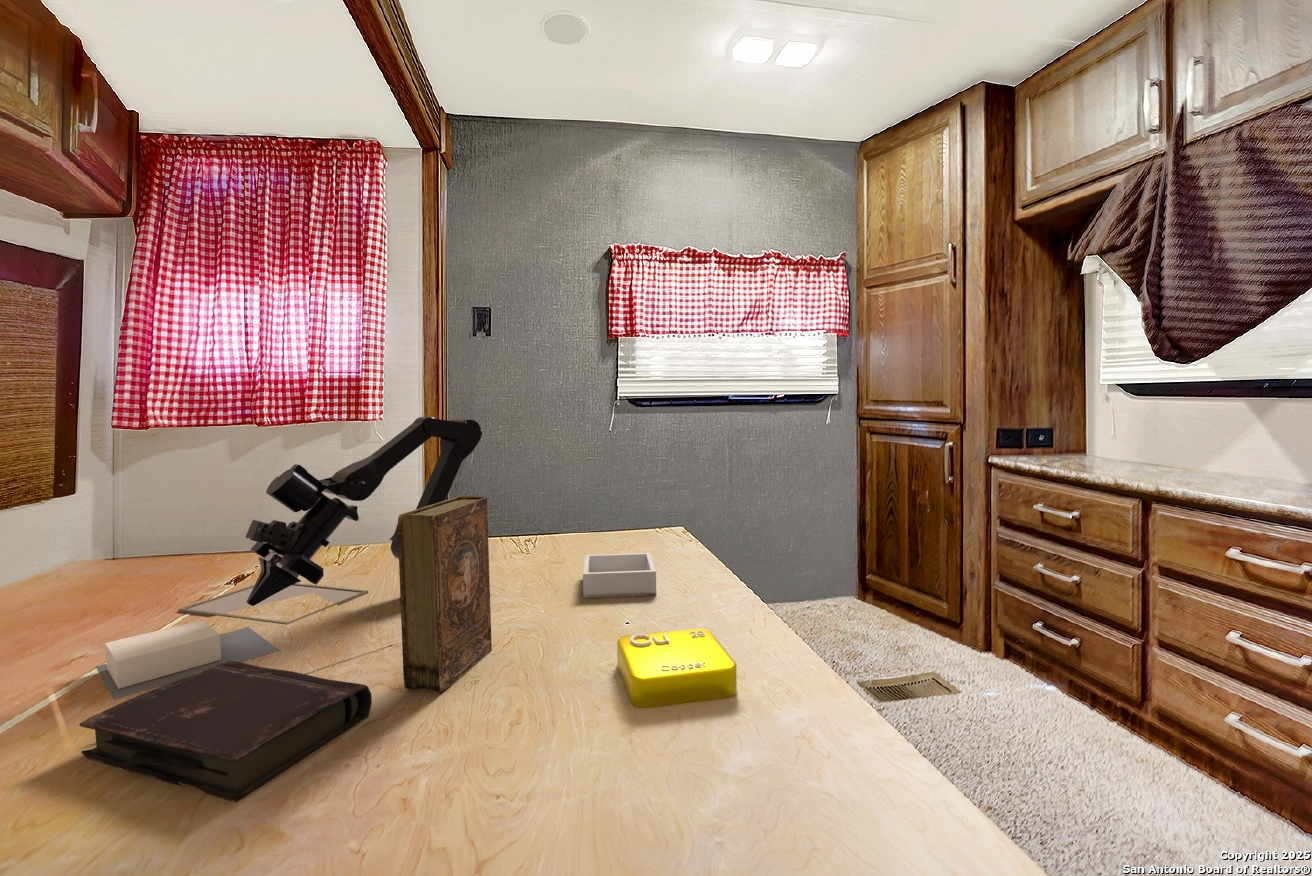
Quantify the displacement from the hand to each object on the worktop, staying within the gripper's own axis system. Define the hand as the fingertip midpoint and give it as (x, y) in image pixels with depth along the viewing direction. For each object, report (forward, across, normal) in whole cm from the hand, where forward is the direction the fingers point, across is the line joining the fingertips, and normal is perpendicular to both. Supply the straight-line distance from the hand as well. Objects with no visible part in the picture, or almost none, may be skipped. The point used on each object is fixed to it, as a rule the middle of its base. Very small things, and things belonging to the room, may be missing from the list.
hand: (249, 604), depth 99 cm
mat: (+11, 0, -1) cm, 11 cm away
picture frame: (-2, -20, +12) cm, 24 cm away
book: (-6, +35, +17) cm, 40 cm away
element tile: (-19, +64, +30) cm, 73 cm away
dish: (-37, +28, +49) cm, 67 cm away
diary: (+13, +31, -2) cm, 33 cm away
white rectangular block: (+7, 0, -1) cm, 7 cm away
